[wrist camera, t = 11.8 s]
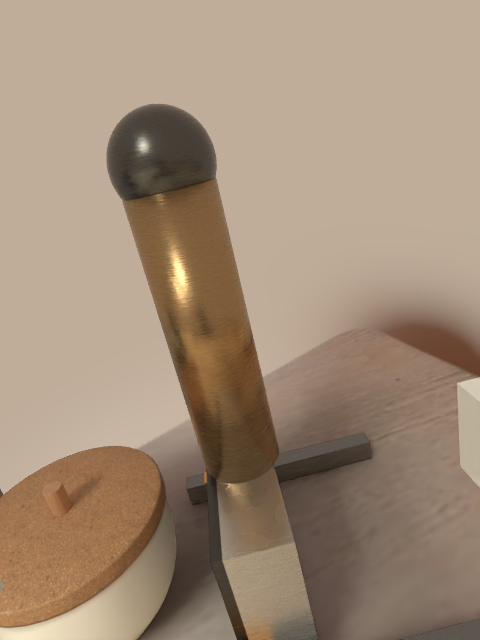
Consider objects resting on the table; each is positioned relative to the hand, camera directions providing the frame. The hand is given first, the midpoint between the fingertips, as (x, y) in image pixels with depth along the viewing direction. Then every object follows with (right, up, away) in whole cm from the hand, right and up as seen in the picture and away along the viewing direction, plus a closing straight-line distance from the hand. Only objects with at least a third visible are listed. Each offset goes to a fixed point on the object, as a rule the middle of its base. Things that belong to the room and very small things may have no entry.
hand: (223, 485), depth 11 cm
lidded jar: (-7, -13, +14) cm, 21 cm away
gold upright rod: (+2, -10, +14) cm, 18 cm away
